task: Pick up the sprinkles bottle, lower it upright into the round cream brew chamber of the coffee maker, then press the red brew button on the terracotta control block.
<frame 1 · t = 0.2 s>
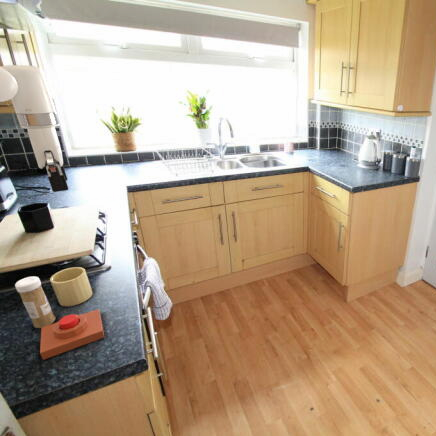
hand: (60, 185, 86), 33 cm above the worktop, tool pointing down, fingers open, 9 cm apart
brew button: (69, 321, 79), point 4 cm above the worktop, slide at 0.1 cm
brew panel: (74, 335, 81), on the worktop
sprinkles bottle: (45, 323, 85), on the worktop
brew chamber: (76, 297, 94), on the worktop
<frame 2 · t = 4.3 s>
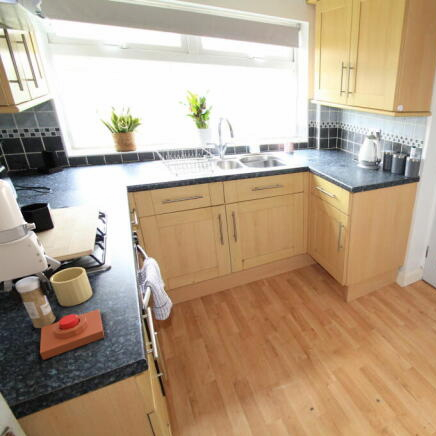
hand: (33, 296, 81), 9 cm above the worktop, tool pointing down, fingers closed on sprinkles bottle, 4 cm apart
sprinkles bottle: (45, 323, 85), on the worktop, touching gripper
everything else where it was.
when the fingers open (9 cm above the worktop, at t = 11.5 s): sprinkles bottle stays where it is, resting on brew chamber.
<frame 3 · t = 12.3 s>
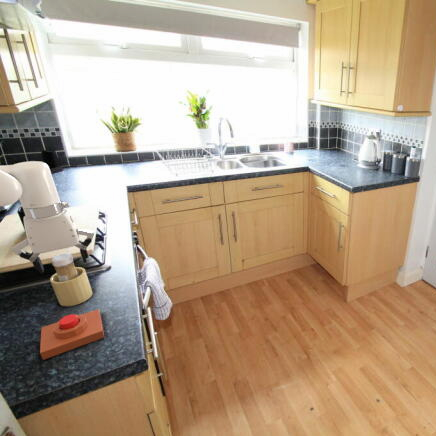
hand: (64, 265, 89), 11 cm above the worktop, tool pointing down, fingers open, 9 cm apart
sprinkles bottle: (75, 296, 94), resting on brew chamber
everything else where it was.
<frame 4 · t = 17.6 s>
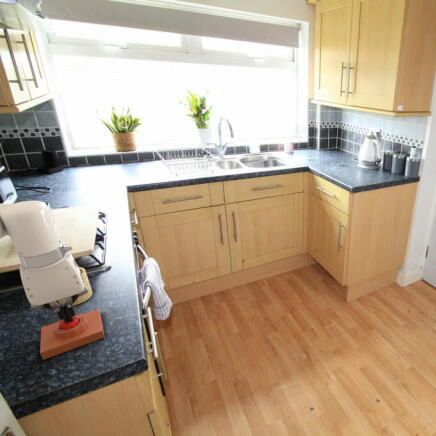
hand: (69, 319, 79), 5 cm above the worktop, tool pointing down, fingers closed
brew button: (69, 322, 79), point 4 cm above the worktop, slide at 0.0 cm, touching gripper
everything else where it was.
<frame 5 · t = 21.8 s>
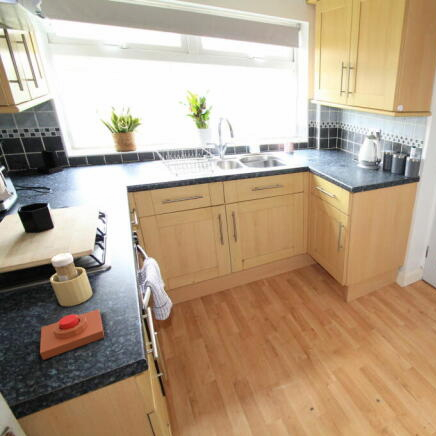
brew button: (69, 322, 79), point 4 cm above the worktop, slide at 0.1 cm
everything else where it was.
at the end: sprinkles bottle 0.0 cm off-centre in the brew chamber, point 0.4 cm above the brew chamber's base; brew button pushed in 1.1 cm at the most during the clip, back to where it started at the end; brew button slide at 0.1 cm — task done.
